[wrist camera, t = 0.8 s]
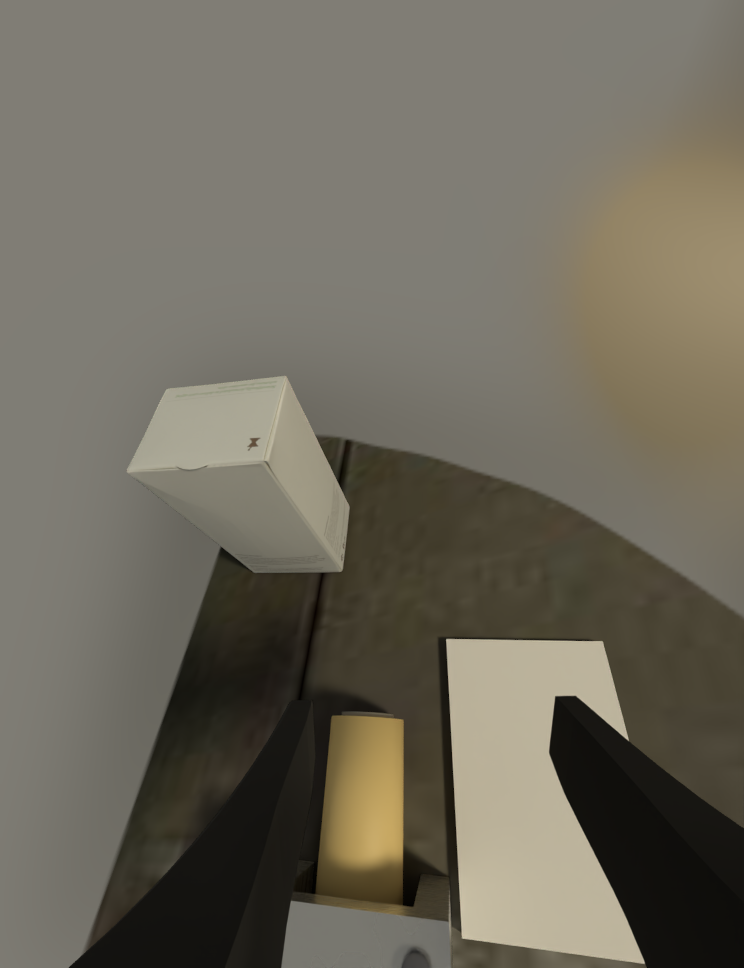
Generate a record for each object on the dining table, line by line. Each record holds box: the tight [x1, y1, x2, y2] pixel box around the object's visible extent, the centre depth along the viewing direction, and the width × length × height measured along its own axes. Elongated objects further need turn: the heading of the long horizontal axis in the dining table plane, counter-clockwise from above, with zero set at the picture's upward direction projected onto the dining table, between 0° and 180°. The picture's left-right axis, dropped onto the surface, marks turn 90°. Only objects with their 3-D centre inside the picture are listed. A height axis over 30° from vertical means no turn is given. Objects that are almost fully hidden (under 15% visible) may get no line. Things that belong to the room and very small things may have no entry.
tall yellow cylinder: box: [315, 711, 404, 906], centre depth 21 cm, size 10×4×4 cm, turn 177°
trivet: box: [446, 639, 645, 964], centre depth 22 cm, size 14×10×1 cm
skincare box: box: [127, 376, 350, 573], centre depth 27 cm, size 8×7×16 cm
